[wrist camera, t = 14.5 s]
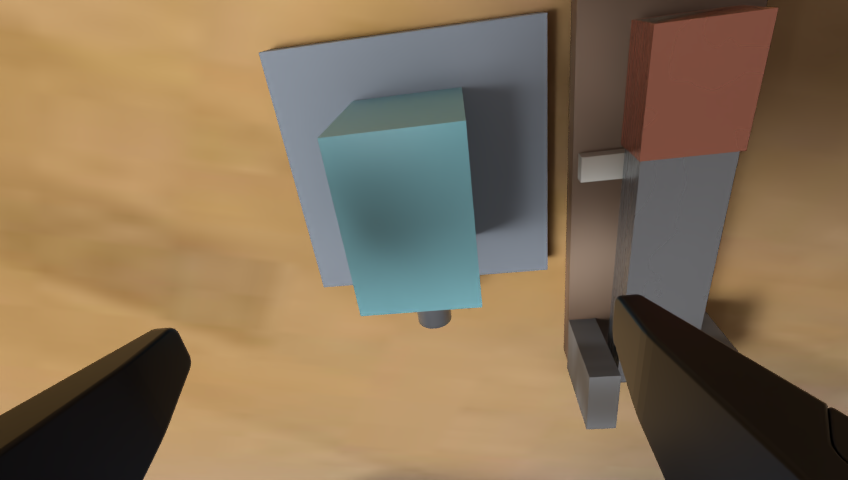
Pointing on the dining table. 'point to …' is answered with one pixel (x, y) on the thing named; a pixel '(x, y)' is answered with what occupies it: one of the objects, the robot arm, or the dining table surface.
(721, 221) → the cutter lever
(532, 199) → the mat
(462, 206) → the plug
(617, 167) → the base
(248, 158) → the dining table surface
